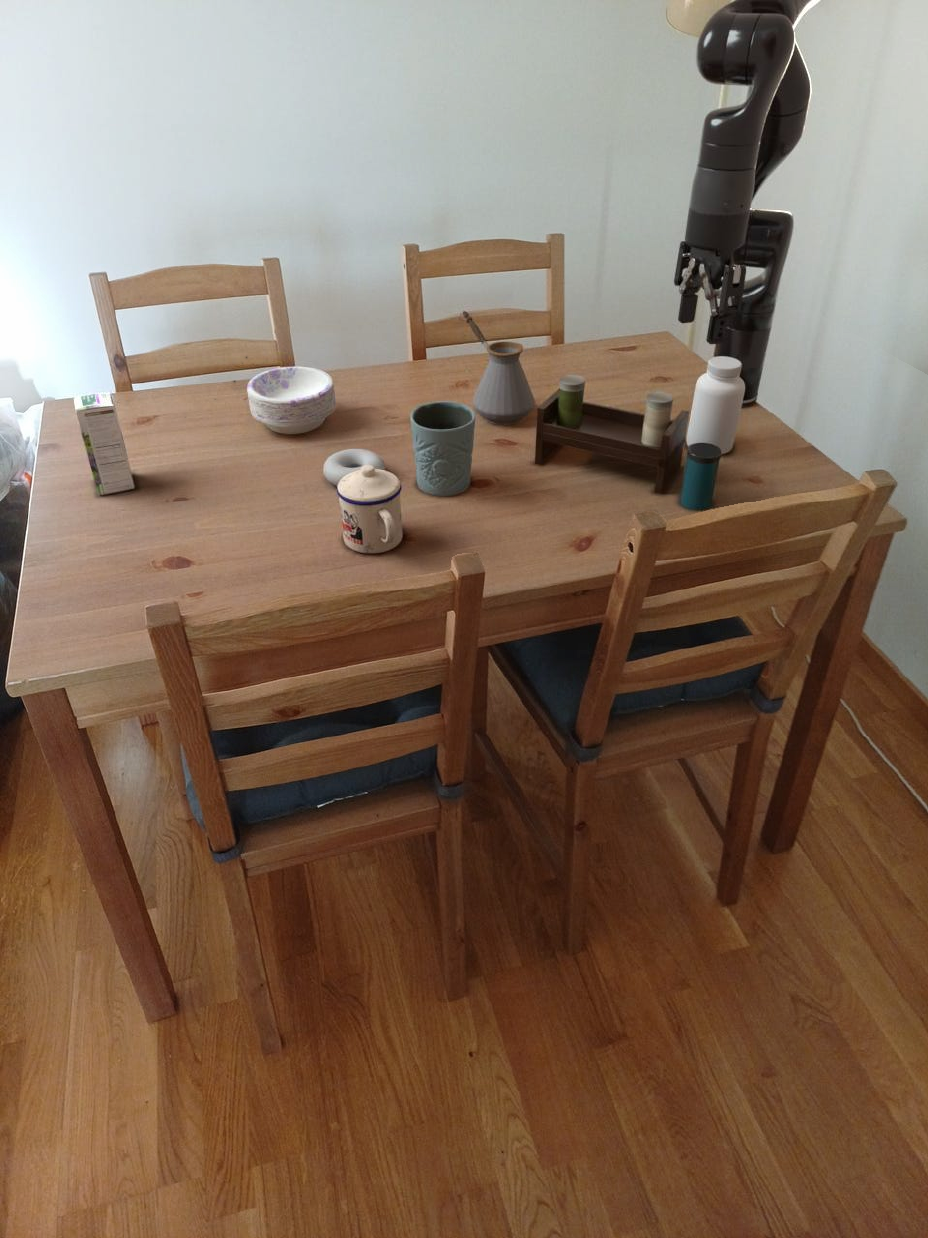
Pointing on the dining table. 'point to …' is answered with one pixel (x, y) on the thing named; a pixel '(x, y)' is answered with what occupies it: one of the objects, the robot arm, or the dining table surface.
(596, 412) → the spice rack
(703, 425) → the pill bottle
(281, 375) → the paper bowls
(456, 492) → the teal embossed cup
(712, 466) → the spice jar
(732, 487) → the dining table surface
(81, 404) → the syrup box
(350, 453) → the donut
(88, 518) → the dining table surface
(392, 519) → the teacup with lid
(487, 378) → the coffee pot
